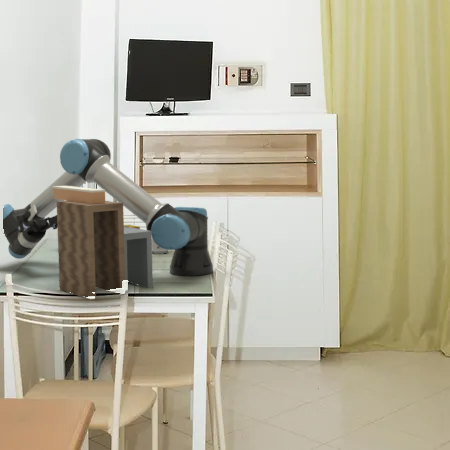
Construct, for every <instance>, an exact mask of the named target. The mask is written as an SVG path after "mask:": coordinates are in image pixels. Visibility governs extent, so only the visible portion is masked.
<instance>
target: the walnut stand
mask: <svg viewBox="0 0 450 450" xmlns="http://www.w3.org/2000/svg"><path fill="white" fill-rule="evenodd" d="M56 215H57V227H58V228H57V247H58V248H57V249H58V250H57V252H58V273H59V274H58V277H59V290H61V291H63V292H66V291H67V293H69V292H71V293H70V294H72V293H73V294H72V295H75V296H78V297H81V296H85V297H88V296H96V297H97V289H100V290H103V291H106V290H110V289H116V288H122V281H123V280H125V255H124V225H125V224H124V223H125V222H124V219H125V218H124V217H125V216H124V206H123V203H119V202H118V201H110V200H105V203H99V204H89V203H82V202H74V201H67V200H64V201H57V207H56ZM92 292H96V294H93V293H92ZM114 294H116V295H119V294H120V293H114Z"/></svg>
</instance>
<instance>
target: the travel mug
mask: <svg viewBox="0 0 450 450" xmlns="http://www.w3.org/2000/svg"><path fill="white" fill-rule="evenodd" d="M168 251H169V250H166V249H163V248H161V247H159V246H158V245H157V244H156V243H155V242H154V240H153V238H152V254H153V253H154V254H153V255H165V254H164V253H166V254H168V253H169V252H168Z"/></svg>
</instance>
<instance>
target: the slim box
mask: <svg viewBox="0 0 450 450" xmlns="http://www.w3.org/2000/svg"><path fill="white" fill-rule="evenodd" d="M53 199H60V200H64V201H74V202H82V203H89V204H99V203H105V201H106V191H105V190H103V189H102V188H92V187H91V188H90V187H83V186H80V187H74V186H53Z"/></svg>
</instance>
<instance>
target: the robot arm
mask: <svg viewBox="0 0 450 450" xmlns="http://www.w3.org/2000/svg"><path fill="white" fill-rule="evenodd" d="M111 157H112V153H111V150H110V148H109V146H108V145H107V144H106V143H105V142H104V141H103V140H100V139H97V138H91V139H90V138H87V139H86V138H82V139H81V138H75V139H71V140H69V141H67V142H65V143H64V145H62V148H61V149H60V154H59V161H60V165H61V167H62V169H63V170H64V171H65V172H63V173H62V174H61V175H60V176H59V177H58V178H57V179H55V180H54V181H53V183H51V184H50V185H49V186H47V188H46V189H44V190H43V191H42V192H41V193H39V195H37V196H36V197H35V198H34V199H33V200H32V201H31V202H30V203H29V204H27V205H26V206H25V207H23V208H19V209H15V207H13V206H12V204H9V203H6V204H3V205H4V208H3V229H4V233H3V235H4V234H5V235H4V237H6V240H7V242H8V248H7V249H8V253H9V255H10V256H12V257H13V258H14V259H17V260H21V259H24V258H26V257H27V256H28V255H29V254H31V252H32V251H33V250H34V248H35V247H36V246H37V245H38V244H39V243H40V241H42V240H43V238H44V237H45V235H46V233H47V230H49V229H51V228H52V229H53V230H58V227H57V214H55V215H54V216H52V217H50V216H48V215H49V214H50V213H52V212H53V211H54V210H55V209H57V201H65V200H60V199H53V186H74V187H82V185H83V184H85V183H87V184H93V183H95V184H96V185H97V186H98V187H100V189H103V190H105V193H107V194H108V195H109V196H111V197H112V198H113V199H115V201H116V202H119V203H123V208H126V209H127V210H128V211H129V212H131V213H132V214H133V215H134V216H135V217H137V218H138V219H139V220H140V221H142V222H143V223H145V226H146V227H145V230H149V231H152V238H153V240H154V242H155V243H156V244H157V245H158V246H159V247H161V248H163V249H166V250H168V251H172V250H173V252H174V253H173V255H172V258H171V262H170V265H169V273H170V274H172V275H177V276H186V277H189V276H190V277H191V276H192V277H193V276H194V277H195V276H203V275H210V274H211V273H214V264H213V262H212V259H211V256H210V254H209V253H210V252H209V249H208V248H209V247H208V242H209V241H208V220H209V216H208V211H207V209H206V208H205V207H198V206H197V207H195V206H192V207H191V206H175V207H174V206H172V204H170V203H167V202H166V203H161V202H160V201H159V200H158V199H156V198H155V197H154V196H152V195H151V194H150V193H148V192H147V191H146V190H145V189H143V188H142V187H141V186H140V185H138V184H137V183H136V182H135V181H134V180H132V179H131V178H130V177H128V176H127V174H125V173H124V172H122V171H121V170H120V169H118V168H117V167H116V166H115V165H113V164H112V163H111ZM47 216H48V217H47Z"/></svg>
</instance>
